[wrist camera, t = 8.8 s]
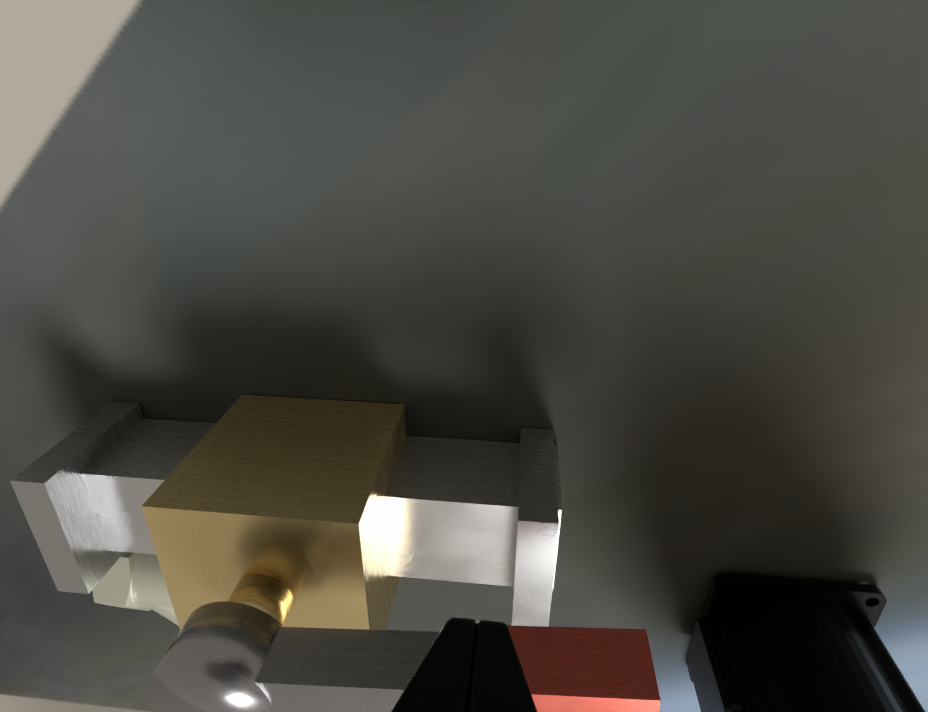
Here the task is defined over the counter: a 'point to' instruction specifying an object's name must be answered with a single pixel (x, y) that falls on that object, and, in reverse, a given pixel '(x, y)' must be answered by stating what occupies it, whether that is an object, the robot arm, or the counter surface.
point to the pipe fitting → (136, 585)
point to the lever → (380, 666)
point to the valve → (297, 509)
